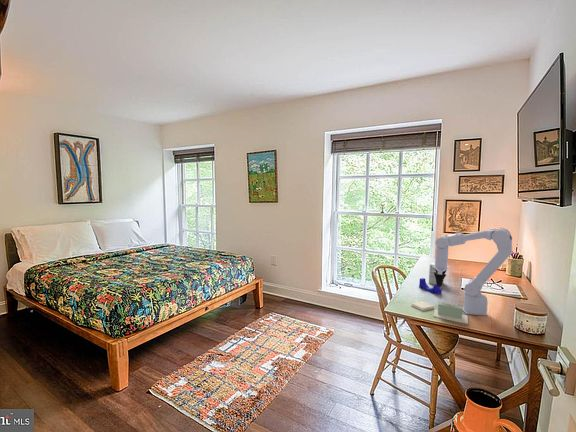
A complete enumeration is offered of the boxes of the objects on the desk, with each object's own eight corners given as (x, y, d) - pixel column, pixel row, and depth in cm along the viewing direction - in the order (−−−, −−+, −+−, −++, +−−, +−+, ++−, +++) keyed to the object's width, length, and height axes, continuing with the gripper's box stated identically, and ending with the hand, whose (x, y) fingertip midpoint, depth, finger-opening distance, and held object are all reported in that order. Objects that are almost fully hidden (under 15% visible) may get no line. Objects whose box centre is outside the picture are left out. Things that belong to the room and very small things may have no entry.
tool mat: (467, 316, 140) (467, 315, 140) (467, 324, 132) (468, 323, 132) (434, 309, 147) (434, 309, 147) (433, 316, 139) (433, 315, 139)
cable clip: (441, 293, 170) (442, 283, 169) (435, 294, 168) (436, 284, 168) (424, 287, 181) (425, 277, 180) (419, 287, 179) (419, 278, 178)
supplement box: (431, 280, 193) (432, 261, 191) (443, 283, 188) (445, 264, 187) (428, 283, 187) (429, 264, 186) (440, 286, 182) (442, 266, 181)
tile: (422, 301, 155) (411, 303, 152) (434, 305, 149) (422, 308, 145) (422, 304, 155) (411, 306, 152) (433, 309, 149) (422, 311, 146)
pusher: (461, 316, 139) (462, 306, 138) (461, 319, 136) (462, 308, 136) (438, 311, 144) (438, 302, 143) (437, 314, 141) (438, 304, 140)
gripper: (433, 255, 161) (432, 278, 163) (431, 261, 149) (430, 286, 150) (448, 257, 158) (446, 281, 159) (447, 263, 145) (445, 289, 147)
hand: (439, 284), depth 155 cm, fingers open, 7 cm apart
